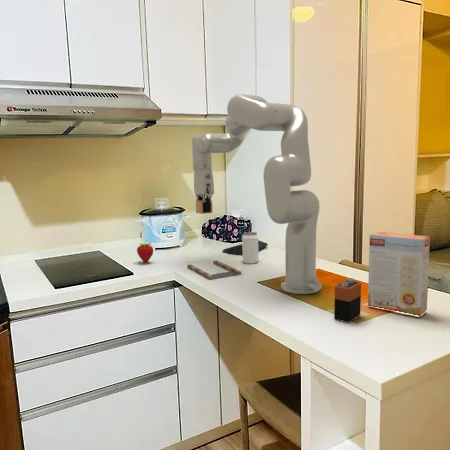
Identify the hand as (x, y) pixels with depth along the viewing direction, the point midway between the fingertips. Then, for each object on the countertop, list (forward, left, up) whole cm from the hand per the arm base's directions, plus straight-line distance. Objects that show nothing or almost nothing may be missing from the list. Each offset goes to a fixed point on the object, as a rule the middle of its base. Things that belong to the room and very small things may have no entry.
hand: (204, 211), depth 170 cm
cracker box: (-79, -20, -21) cm, 84 cm away
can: (-11, -15, -21) cm, 28 cm away
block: (0, 0, -1) cm, 1 cm away
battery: (-76, -5, -21) cm, 79 cm away
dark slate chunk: (+10, -25, -22) cm, 35 cm away
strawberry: (+12, +22, -21) cm, 33 cm away
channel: (-15, +4, -21) cm, 26 cm away
